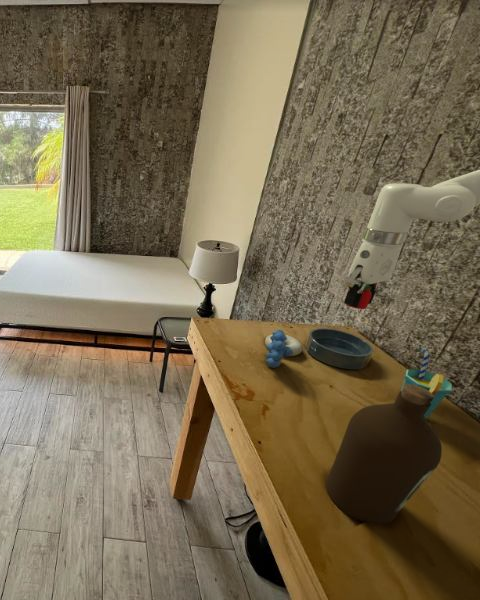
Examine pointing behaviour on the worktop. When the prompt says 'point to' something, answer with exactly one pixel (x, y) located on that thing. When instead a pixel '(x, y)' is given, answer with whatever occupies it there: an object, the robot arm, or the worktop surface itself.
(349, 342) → the bowl
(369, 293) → the strawberry
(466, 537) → the worktop surface
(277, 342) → the grapes
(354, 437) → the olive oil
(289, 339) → the donut
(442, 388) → the cup
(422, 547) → the worktop surface
